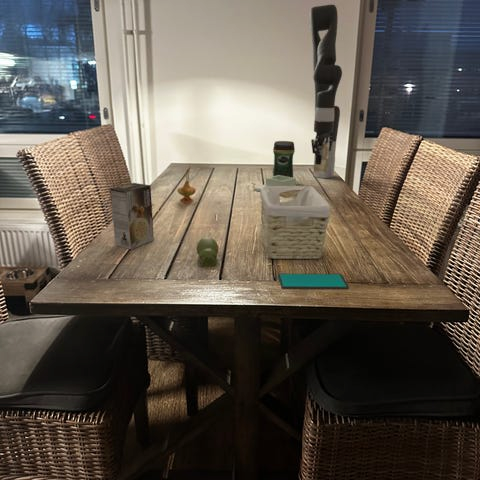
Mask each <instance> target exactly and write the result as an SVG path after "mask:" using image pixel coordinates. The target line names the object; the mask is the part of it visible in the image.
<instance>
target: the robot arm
mask: <svg viewBox="0 0 480 480" xmlns="http://www.w3.org/2000/svg"><path fill="white" fill-rule="evenodd" d="M338 17H339V16H338V9H337V5H335V4H326V5H318V6H317V5H316V6H313V7H311V8H310V10H309V25H310V33H311V42H312V59H313V60H312V64H313V65H312V66H313V77H312V78H313V82H314V95H315V96H314V97H315V98H314V99H315V100H314V123H313V124H314V125H313V132H315V133H316V134H315V138H311V140H310V142H311V148H312V150H311V151H312V154H314V155H315V154H316V160H315V163H316V164H321V154H322V149H323V147H324V144H325V143H329V154H328V167H327V173H324V174H318V173H313V176H314V177H316V178H320V179H331V178H333V177H334V173H335V166H336V163H335V162H336V148H337V138H338V131H339V122H340V116H341V109H340V106H338V105H335V104H336V103H335V102H336V97H337V96H336V95H337V92H338V88H339V85H340V82H341V81H342V76H343V70H342V67H341V66H340V65H338V64H336V62H337V52H336V50H337V49H336V44H337V43H336V42H337V34H338V19H339V18H338ZM323 31H327V32H326V33H325V34H324V35H323V37H322V38H321V36H320V33H319V32H323ZM319 146H321V147H319ZM315 149H316V150H315ZM319 149H320V152H319Z"/></svg>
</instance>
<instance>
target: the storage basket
mask: <svg viewBox="0 0 480 480" xmlns="http://www.w3.org/2000/svg"><path fill="white" fill-rule="evenodd" d="M259 196H260V200H261V201H260V203H261V206H260V207H261V211H260V213H261V215H260V218H261V219H260V221H261V225H260V226H261V229H260V233H261V240H262V243H263V246H264V249H265V252H266V256H267V257H268V259H273V260H274V259H275V260H276V259H279V260H280V259H281V260H284V259H285V260H292V259H295V260H304V259H305V260H312V259H313V260H315V259H316V260H318V259H320V258H322V255H323V250H324V246H325V239H326V233H327V228H328V225H329V220H330V219H329V218H331V207H332V206H331V205H330V204H329V203H328V201H327V200H326V199H325V198H324V197H323V196H322V195H321V194H320V193H319V192H318V191H317V190H316V189H315V187H313V186H312V185H311V186H308V185H307V186H303V185H302V186H301V185H296V186H264V187H262V188H261V192H260V195H259ZM283 196H286V197H289V198H290V197H292V198H293V197H294V198H293V199H290V200H287V201H285V202H284V201H282V202H281V199H280V197H283Z"/></svg>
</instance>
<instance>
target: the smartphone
mask: <svg viewBox="0 0 480 480" xmlns="http://www.w3.org/2000/svg"><path fill="white" fill-rule="evenodd" d="M278 279H279V283H280V286H281V289H282V290H349V288H350V286H349V285H348V283H347V282H346V280H345V278H344V276H343V275H342V274H340V273H338V274H337V273H278Z"/></svg>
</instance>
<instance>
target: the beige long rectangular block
mask: <svg viewBox="0 0 480 480" xmlns="http://www.w3.org/2000/svg"><path fill="white" fill-rule="evenodd" d="M319 147H321V146H319ZM315 150H316V149H315ZM319 152H320V149H319ZM328 154H329V143H325V144H324V147H323V149H322V154H321V164H316V163H315V160H316V154H314V161H313V171H312V172H313V174H314V173H318V174H324V173H327V167H328Z"/></svg>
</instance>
